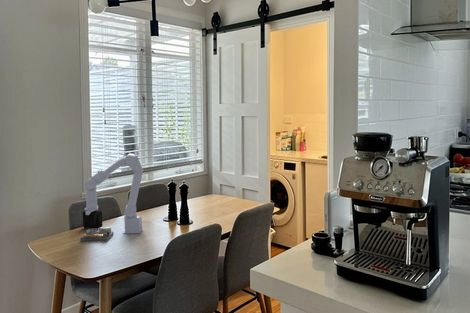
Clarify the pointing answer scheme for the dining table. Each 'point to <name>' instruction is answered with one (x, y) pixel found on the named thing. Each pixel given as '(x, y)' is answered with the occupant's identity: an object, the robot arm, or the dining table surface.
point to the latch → (89, 231)
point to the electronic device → (98, 220)
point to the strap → (94, 235)
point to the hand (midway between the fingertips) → (92, 224)
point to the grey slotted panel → (94, 239)
